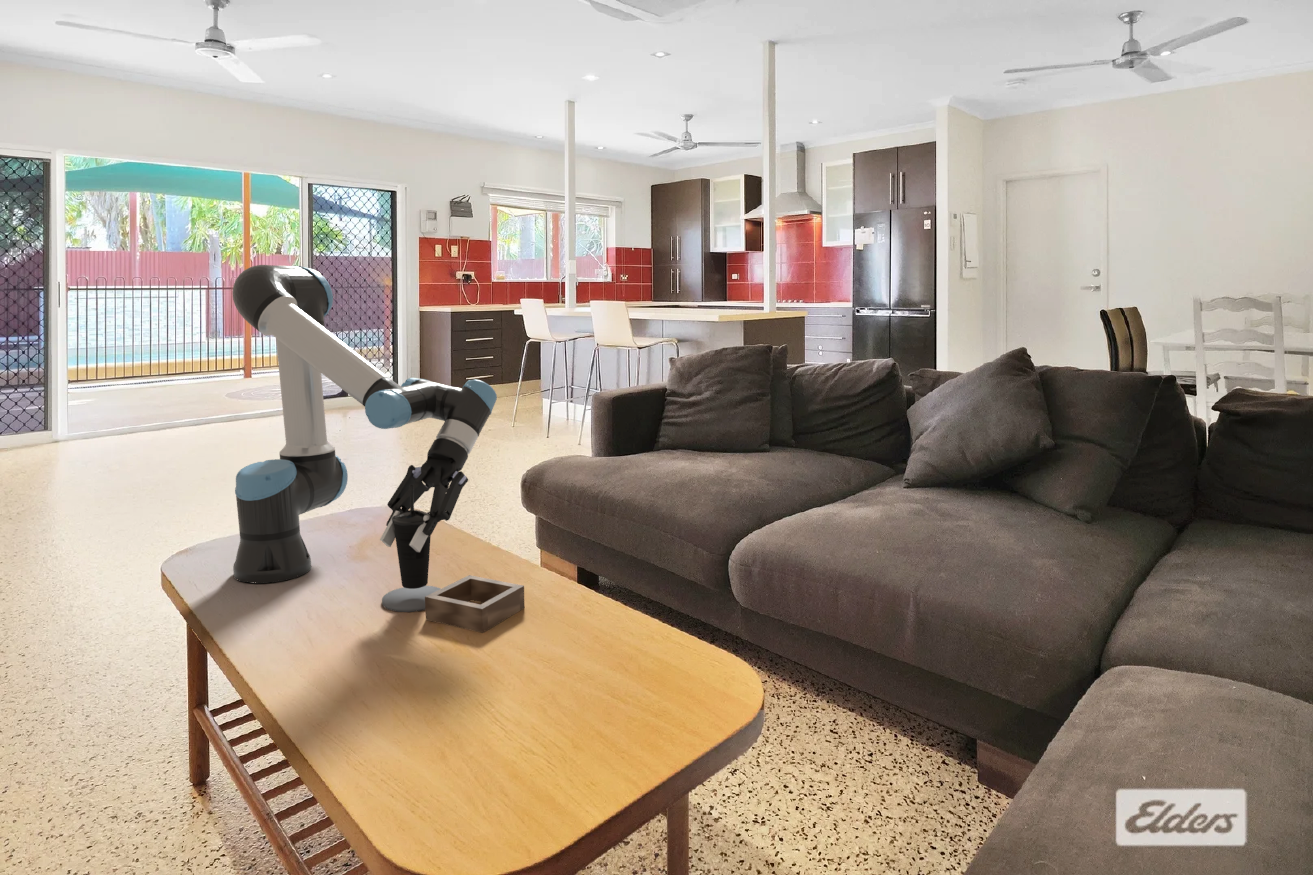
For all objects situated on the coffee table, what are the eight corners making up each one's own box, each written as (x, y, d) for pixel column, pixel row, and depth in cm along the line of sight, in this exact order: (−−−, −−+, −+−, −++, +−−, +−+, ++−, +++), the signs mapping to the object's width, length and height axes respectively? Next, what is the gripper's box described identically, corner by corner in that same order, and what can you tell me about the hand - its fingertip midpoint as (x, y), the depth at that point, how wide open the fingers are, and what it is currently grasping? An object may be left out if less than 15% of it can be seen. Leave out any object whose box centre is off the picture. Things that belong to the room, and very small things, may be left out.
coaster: (368, 605, 160) (368, 601, 160) (411, 585, 170) (411, 581, 170) (417, 616, 155) (416, 612, 155) (458, 595, 165) (458, 591, 165)
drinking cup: (440, 578, 165) (437, 481, 161) (426, 592, 158) (423, 491, 154) (403, 576, 166) (400, 479, 162) (388, 590, 159) (383, 489, 155)
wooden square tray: (425, 619, 153) (424, 596, 152) (470, 596, 165) (469, 575, 164) (482, 632, 148) (482, 608, 147) (524, 607, 159) (524, 585, 158)
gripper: (499, 462, 167) (450, 562, 156) (424, 453, 176) (371, 548, 164) (482, 440, 162) (430, 543, 150) (405, 432, 170) (350, 529, 158)
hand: (399, 545), depth 157 cm, fingers closed on drinking cup, 6 cm apart
